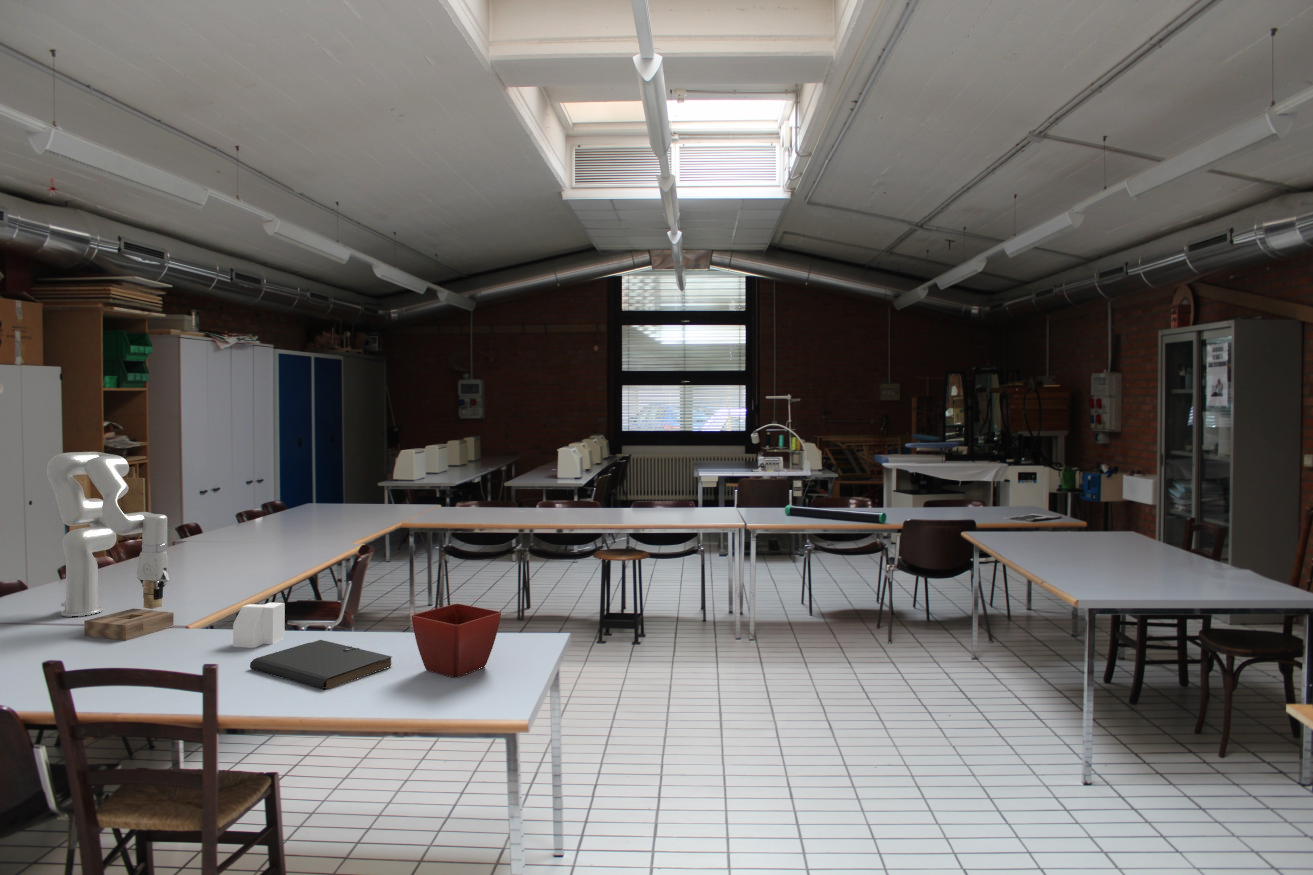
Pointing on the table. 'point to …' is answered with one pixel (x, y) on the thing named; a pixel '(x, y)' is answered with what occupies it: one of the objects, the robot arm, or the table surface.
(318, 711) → the table surface
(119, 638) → the board
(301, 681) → the dark grey book
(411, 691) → the table surface
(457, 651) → the plant pot
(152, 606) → the peg
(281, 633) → the corner bracket
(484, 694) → the table surface
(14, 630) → the table surface
